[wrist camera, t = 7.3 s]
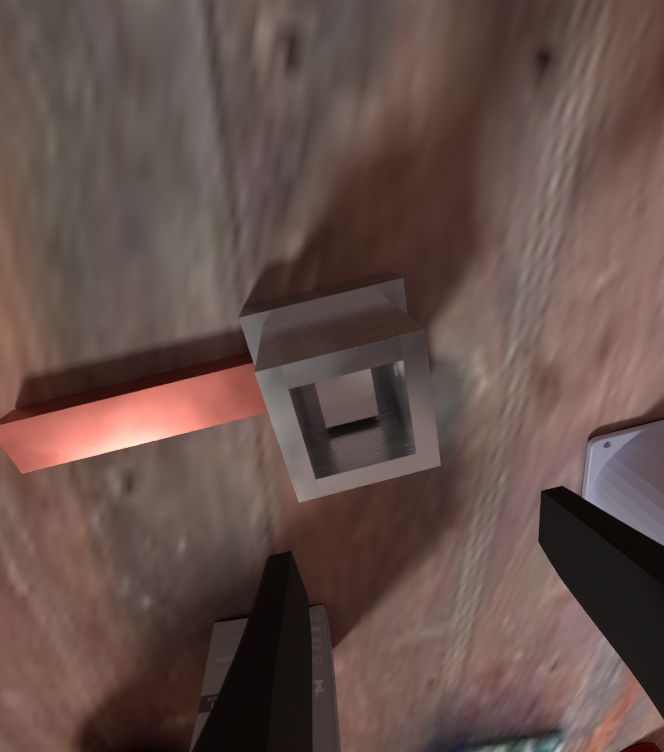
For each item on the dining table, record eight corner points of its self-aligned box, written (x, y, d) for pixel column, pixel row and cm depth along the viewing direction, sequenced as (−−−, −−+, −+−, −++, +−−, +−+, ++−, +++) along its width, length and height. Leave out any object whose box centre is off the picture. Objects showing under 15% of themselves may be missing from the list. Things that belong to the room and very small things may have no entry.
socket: (383, 294, 15) (425, 329, 11) (399, 400, 17) (440, 465, 13) (262, 324, 15) (254, 372, 11) (294, 427, 17) (298, 502, 13)
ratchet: (390, 270, 17) (424, 289, 13) (408, 399, 20) (440, 447, 16) (-16, 369, 16) (-115, 420, 12) (64, 485, 19) (7, 558, 15)
